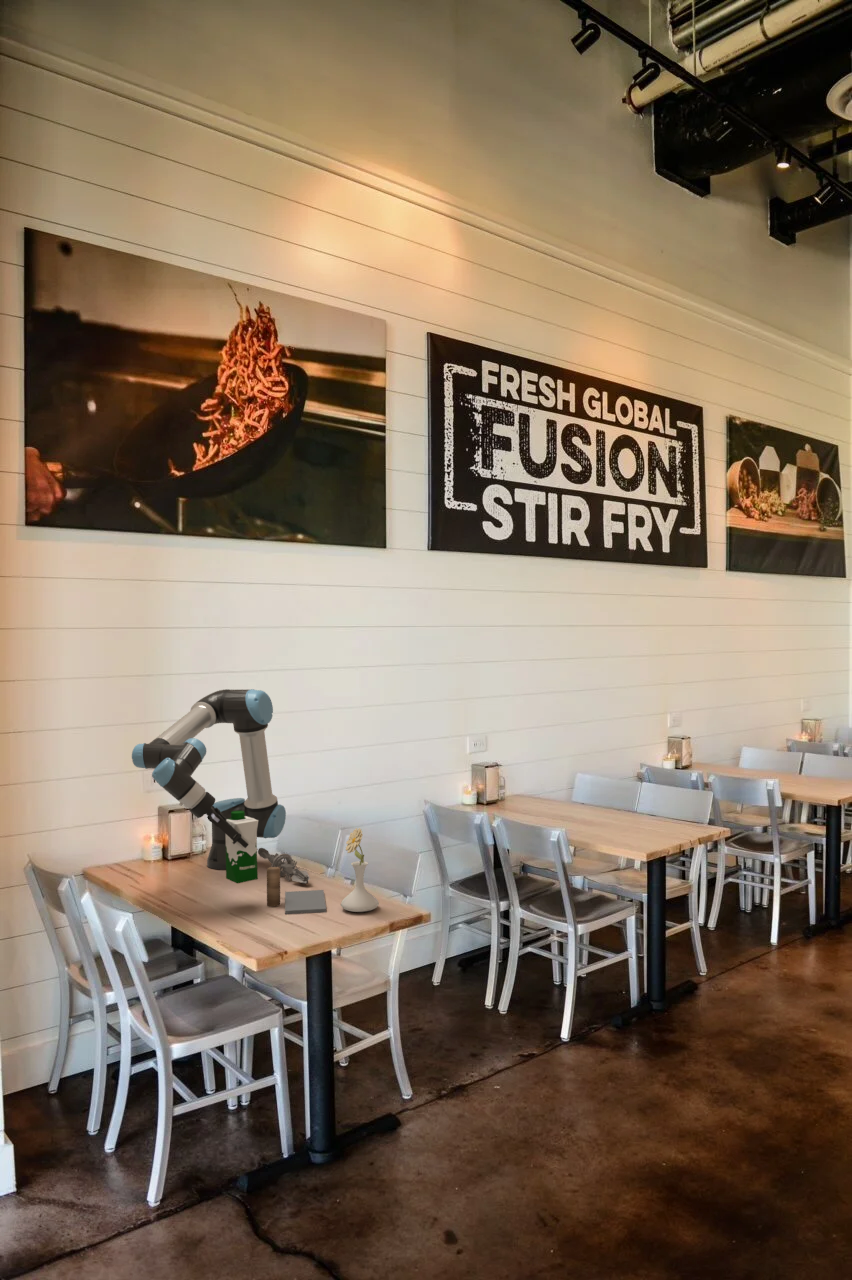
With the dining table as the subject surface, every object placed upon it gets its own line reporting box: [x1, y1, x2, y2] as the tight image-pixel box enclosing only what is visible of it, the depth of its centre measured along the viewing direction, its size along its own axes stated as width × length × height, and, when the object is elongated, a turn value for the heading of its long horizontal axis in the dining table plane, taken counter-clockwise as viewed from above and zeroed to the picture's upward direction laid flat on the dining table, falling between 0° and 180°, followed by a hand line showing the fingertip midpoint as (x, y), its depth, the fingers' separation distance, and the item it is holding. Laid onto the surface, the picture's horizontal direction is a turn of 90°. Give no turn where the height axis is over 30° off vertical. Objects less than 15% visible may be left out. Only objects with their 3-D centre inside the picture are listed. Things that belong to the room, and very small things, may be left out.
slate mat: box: [284, 889, 327, 915], centre depth 275 cm, size 20×12×1 cm, turn 9°
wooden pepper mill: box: [266, 866, 281, 908], centre depth 274 cm, size 4×4×11 cm
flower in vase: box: [340, 827, 380, 913], centre depth 268 cm, size 13×11×25 cm
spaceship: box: [257, 847, 311, 885], centre depth 306 cm, size 8×35×8 cm
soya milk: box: [225, 811, 259, 884], centre depth 272 cm, size 9×9×20 cm
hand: (252, 848), depth 273 cm, fingers closed on soya milk, 9 cm apart
